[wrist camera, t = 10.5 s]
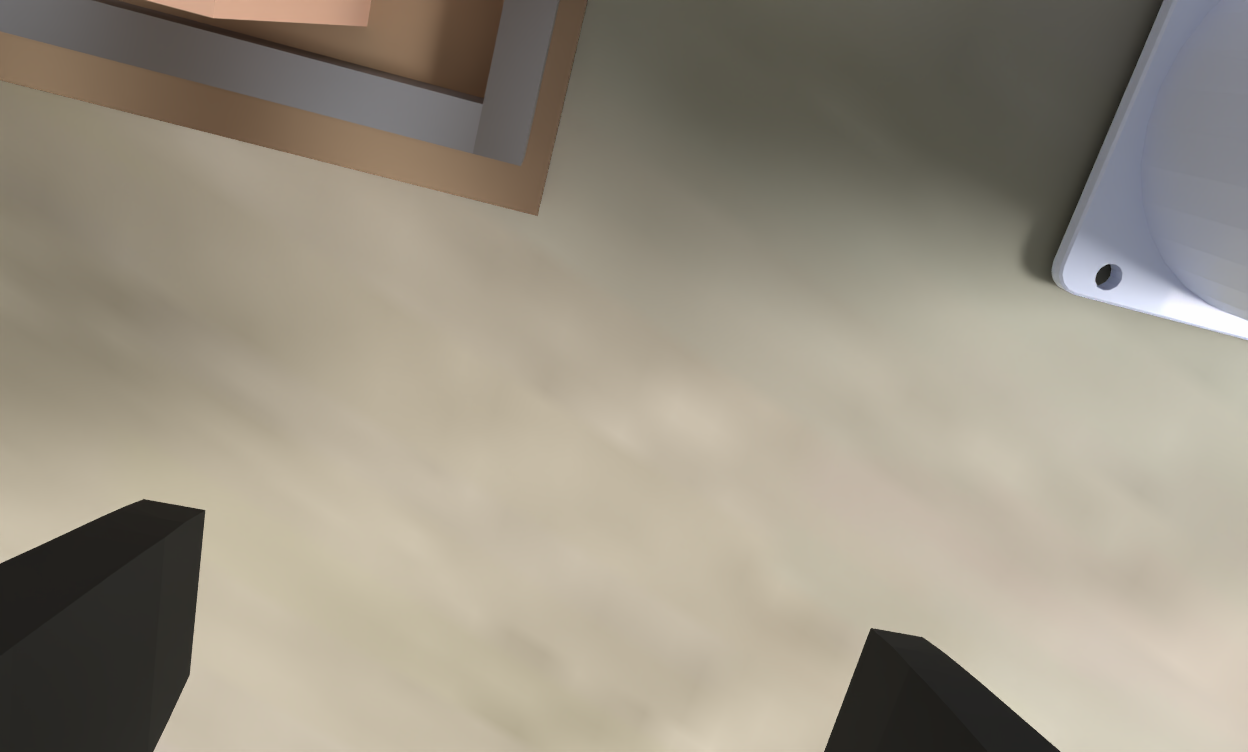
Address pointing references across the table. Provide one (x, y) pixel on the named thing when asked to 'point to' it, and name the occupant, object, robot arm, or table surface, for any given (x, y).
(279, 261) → the table surface
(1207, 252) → the robot arm
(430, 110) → the brown flat tray
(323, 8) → the pinkish brown block
